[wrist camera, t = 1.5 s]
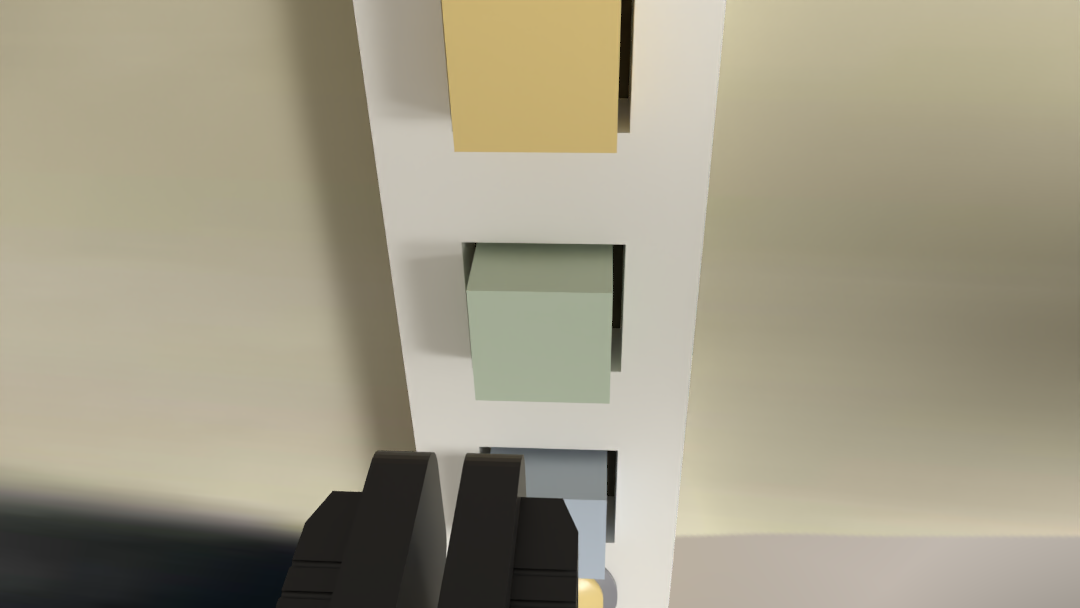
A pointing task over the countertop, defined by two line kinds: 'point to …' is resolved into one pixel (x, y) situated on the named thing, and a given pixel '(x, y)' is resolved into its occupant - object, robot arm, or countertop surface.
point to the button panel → (557, 218)
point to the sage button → (541, 322)
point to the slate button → (572, 495)
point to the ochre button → (533, 74)
